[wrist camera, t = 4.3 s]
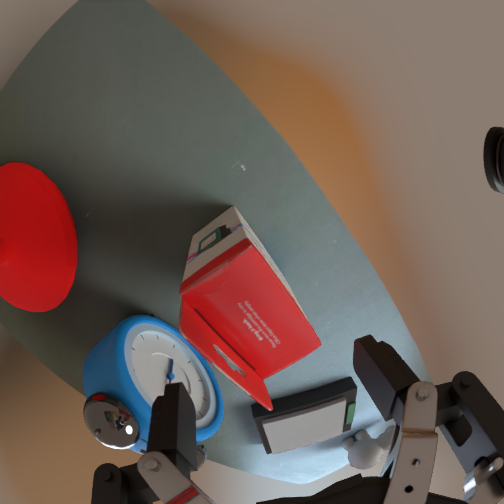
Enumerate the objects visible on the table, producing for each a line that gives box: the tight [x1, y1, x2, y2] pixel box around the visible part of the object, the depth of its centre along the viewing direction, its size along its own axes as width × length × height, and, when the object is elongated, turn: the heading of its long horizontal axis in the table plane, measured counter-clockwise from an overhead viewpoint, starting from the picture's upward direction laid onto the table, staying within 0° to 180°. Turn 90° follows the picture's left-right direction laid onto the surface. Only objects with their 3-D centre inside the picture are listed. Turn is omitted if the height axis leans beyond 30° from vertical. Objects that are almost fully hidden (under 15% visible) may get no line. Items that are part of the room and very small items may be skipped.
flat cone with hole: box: [0, 162, 78, 312], centre depth 18 cm, size 16×16×7 cm
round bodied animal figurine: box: [342, 425, 395, 469], centre depth 39 cm, size 7×12×8 cm, turn 121°
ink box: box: [178, 206, 321, 411], centre depth 19 cm, size 8×5×15 cm, turn 34°
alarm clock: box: [83, 314, 224, 473], centre depth 21 cm, size 13×6×15 cm, turn 39°
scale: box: [251, 377, 357, 454], centre depth 35 cm, size 15×13×3 cm
